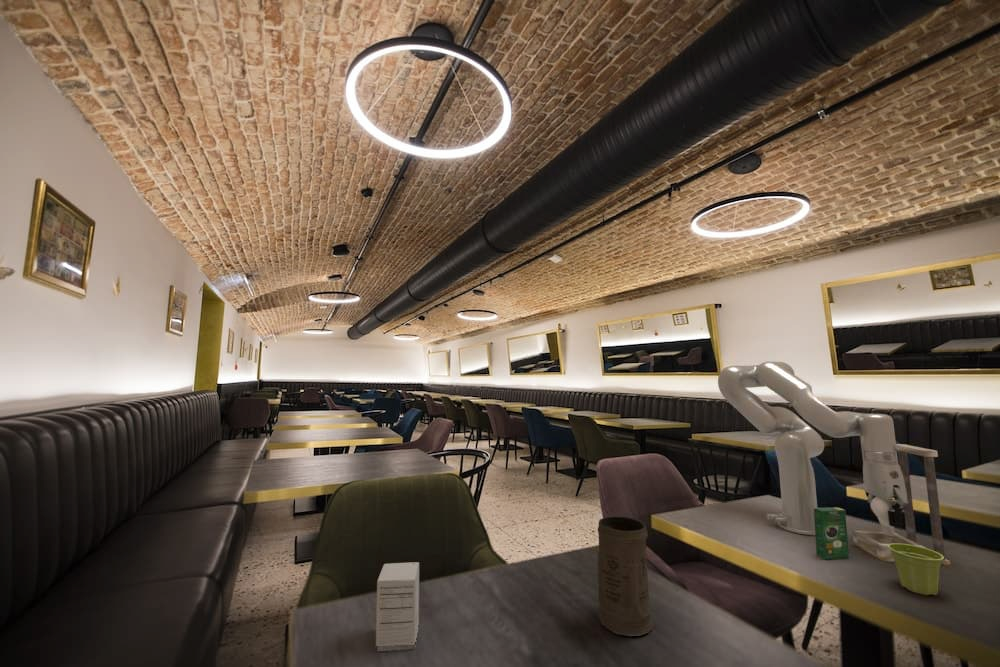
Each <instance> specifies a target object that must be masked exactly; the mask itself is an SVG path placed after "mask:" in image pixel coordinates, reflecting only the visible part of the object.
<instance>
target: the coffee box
mask: <svg viewBox="0 0 1000 667" xmlns="http://www.w3.org/2000/svg"><path fill="white" fill-rule="evenodd" d="M846 514H847V513H846V509H844V508H841V507H837V506H834V507H831V506H830V507H828V506H827V507H817V508H814V522H815V535H814V536H815V538H814V539H815V551H816V557H818V558H820V559H822V560H834V559H835V560H836V559H837V560H839V559H849V558H850V554H849V543H848V542H849V541H848V529H847V528H848V526H847V517H846Z"/></svg>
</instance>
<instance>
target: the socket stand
mask: <svg viewBox="0 0 1000 667" xmlns="http://www.w3.org/2000/svg"><path fill="white" fill-rule="evenodd" d="M896 450H897V458H898V465H900V468H901V471H902V474H903V477H904V482H905V487H906V493H907V501H908V504H907V505H906V506H905V509H904V512H903V513H904V525H905V530H906V531H905V532H906V537H905V536H904V535H903V536H902V535H900V534H898V533H897V532H895V536H892V537H887V536H886V535H884V534H883V533H882V531H871V530H870V531H869V530H852V536H853V539H852V540H853V545H854V546H856V547H857V546H858V547H857V548H859V547H860V548H859V549H861V550H862V551H864V552H866V553H868V554H869V555H871V556H873V557H875V558H876V559H878V560H879V559H880V560H879V561H881V560H882V561H881V562H894V563H895V561H894V557H893V555H892V554H891V551H890V549H889V548H888V544H891V543H901V544H909V545H915V546H919V547H923V548H927V547H925V546H924V545H921V544H919V543H917V534H916V532H917V531H916V524H915V515H914V514H915V513H914V512H915V511H914V504H913V496H912V486H911V478H910V469H909V457H908V454H911V455H915V456H916V455H917V456H920V457H923V464H924V465H923V466H924V473H925V474H924V476H925V481H926V482H925V483H926V491H927V501H928V502H927V503H928V510H929V519H930V527H931V528H930V529H931V538H932V545H933V547H932V548H933V551H935V552H938V553H940V554H941V555H943V556H944V560H942V562H941V564H944V565H945V566H951V560H948V559H946V555H945V554H946V553H945V546H944V539H943V538H944V536H943V527H942V519H941V510H940V503H939V502H940V501H939V493H938V492H939V491H938V485H937V474H936V466H935V458H938V457H939V454H938V450H936V449H935V450H934V449H929V448H924V447H920V446H915V445H910V444H905V443H904V444H903V443H896Z"/></svg>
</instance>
